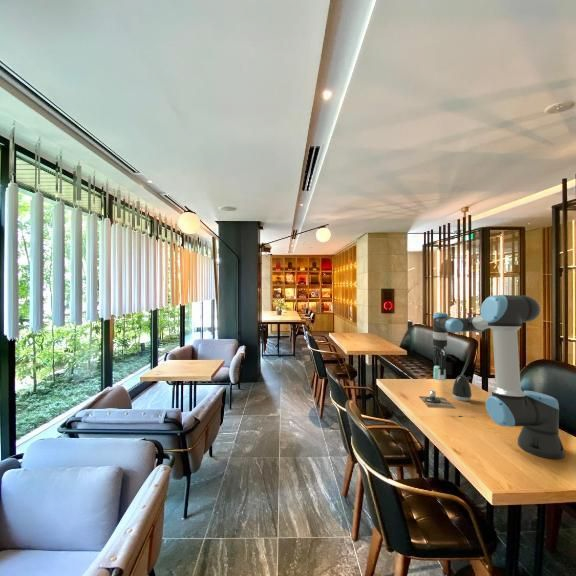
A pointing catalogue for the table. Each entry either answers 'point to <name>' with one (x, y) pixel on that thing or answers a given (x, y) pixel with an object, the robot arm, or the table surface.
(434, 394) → the post
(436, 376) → the cap
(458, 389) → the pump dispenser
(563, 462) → the table surface
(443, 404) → the board
